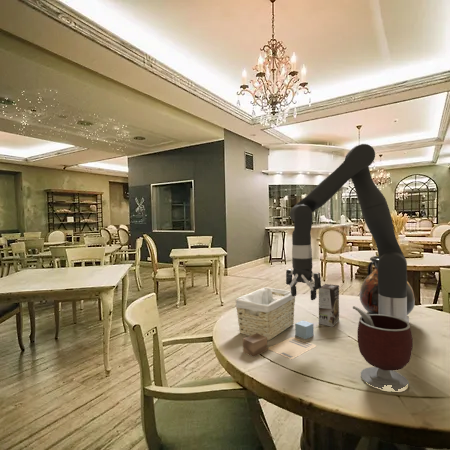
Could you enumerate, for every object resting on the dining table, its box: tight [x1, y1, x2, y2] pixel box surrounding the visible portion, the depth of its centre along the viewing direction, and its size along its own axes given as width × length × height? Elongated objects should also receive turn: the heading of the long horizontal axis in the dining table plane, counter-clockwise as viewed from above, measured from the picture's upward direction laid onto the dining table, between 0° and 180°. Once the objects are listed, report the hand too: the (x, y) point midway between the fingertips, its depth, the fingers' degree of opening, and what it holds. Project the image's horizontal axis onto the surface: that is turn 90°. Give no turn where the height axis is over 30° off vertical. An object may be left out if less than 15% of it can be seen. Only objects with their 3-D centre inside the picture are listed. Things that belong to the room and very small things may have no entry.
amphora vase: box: [359, 255, 416, 316], centre depth 132 cm, size 22×22×28 cm
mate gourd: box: [352, 305, 413, 391], centre depth 86 cm, size 16×14×20 cm
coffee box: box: [318, 283, 340, 327], centre depth 131 cm, size 9×6×16 cm
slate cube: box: [294, 320, 315, 340], centre depth 118 cm, size 5×5×5 cm
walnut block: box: [242, 333, 268, 358], centre depth 105 cm, size 5×7×5 cm
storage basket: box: [235, 286, 296, 342], centre depth 126 cm, size 24×16×15 cm
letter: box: [267, 336, 317, 360], centre depth 108 cm, size 11×15×1 cm
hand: (303, 297), depth 116 cm, fingers open, 8 cm apart
